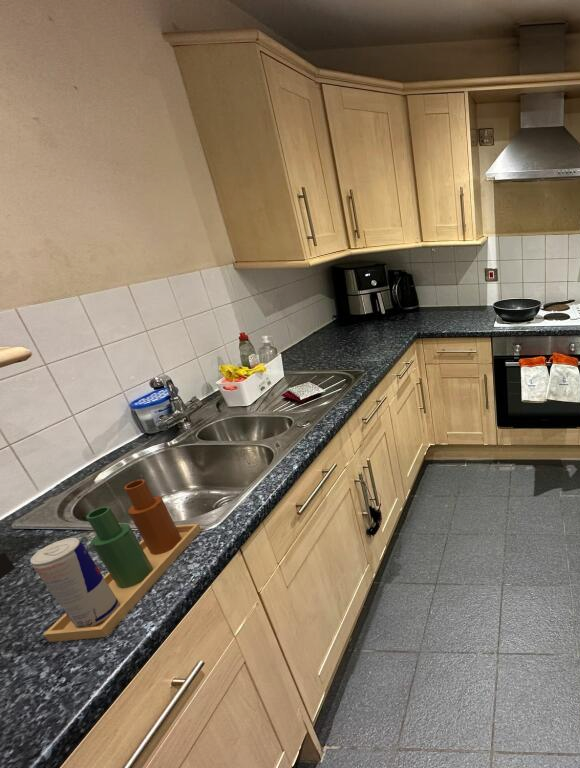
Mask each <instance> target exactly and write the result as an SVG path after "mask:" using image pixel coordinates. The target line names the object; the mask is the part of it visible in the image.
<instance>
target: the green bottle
mask: <svg viewBox="0 0 580 768" xmlns="http://www.w3.org/2000/svg"><path fill="white" fill-rule="evenodd" d="M85 518H86V520H87V521H88V523H89V525H90V527H91V528H92V530H93V531H94V533H95V536H94V537H93V538H92V540H91V541H90V542H91V546H92V547H93V549H94V551H95V552H96V554H97V556H98V557H99V559H100V560H101V562H102V563H103V565H104V568H106V570H107V571H108V572H109V573H110V575H111V576H112V578H113V580H114V581H115V583H116V585H117V586H118V587H119V588H129V587H132V586H135V585H137V584H139V583H141V582H142V581H143V580H144V579H145V578H146V577H147V576H148V575H149V574H150V573H151V572H152V571H153V567H152V565H151V563H150V562H149V560H148V558H147V556H146V554H145V553H144V551H143V549H142V547H141V545H140V541H139V540H138V538H137V536H136V535H135V532H134V530H133V529H132V527H131V526H130V524H128V523H119V521H118V520H117V517H116V516H115V514H114V513H113V511H112V509H111V507H109V506H101V507H99V508H96V509H94V510H92V511H90V512H89V513H88V514H86V516H85ZM108 572H107V573H108Z"/></svg>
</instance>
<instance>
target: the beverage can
mask: <svg viewBox="0 0 580 768" xmlns="http://www.w3.org/2000/svg"><path fill="white" fill-rule="evenodd" d="M29 562H30V564H31V565H32V568H33V569H34V571H35V572H36V574H37V575H38V577H39V578H40V579H41V581H42V582H43V583H44V585H45V587H46V588H47V589H48V591H49V592H50V594H52V596H53V597H54V599H55V601H56V602H57V603H58V605H59V606H60V607H61V609H62V610H63V611H64V614H65V613H66V614H67V616H68V617H69V618H70V620H71V621H72V623H73V624H74V625H75V627H76V628H87V627H92V626H94V625H97V624H99V623H100V622H102V621H104V620H105V619H107V618H108V617H109V616H111V615H112V614H113V613H114V611H115V610H116V609H117V607H118V605H119V601H118V599H117V598H116V596H115V595H114V593H113V591H112V590H111V588H110V587H109V585H108V584H107V582H106V580H105V579H104V575H103V574H102V573H101V571H100V569H99V568H98V566H97V565H96V563H95V561H94V560H93V558H92V557H91V555H90V553H89V551H88V550H87V548H86V547H85V545H84V543H82V542H81V541H80V539H79V538H77V537H69V538H64V539H60V540H57V541H55V542H53V543H50V544H48V545H46V546H44V547H43V548H41V549H39V550H38V551H37V552H36V553H34V554H33V555H32V556H31V558H30V560H29Z"/></svg>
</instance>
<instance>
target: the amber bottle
mask: <svg viewBox="0 0 580 768" xmlns="http://www.w3.org/2000/svg"><path fill="white" fill-rule="evenodd" d="M124 491H125V493H126V495H127V497H128V498H129V500H130V503H131V504H132V505H131V506H130V507H129V508H128V510H127V512H128V514H129V516H130V518H131V520H132V522H133V524H134V526H135V527H136V529H137V531H138V533H139V535H140V537H141V539H142V540H144V542H145V544H146V546H147V547H148V549H149V551H150V553H151V554H153V555H157V554H162V553H165V552H168V551H170V550H172V549H173V548H174V547H175V546H176V545H177V544H178V543H179V542H180V541H181V539H182V538H181V536H180V534H179V532H178V530H177V528H176V524H175V522H174V520H173V518H172V516H171V513H170V512H169V509H168V508H167V506H166V503H165V502H164V500H163V498H162V496H159V495H155V496H153V493H152V492H151V490H150V488H149V485H148V484H147V482H146V480H145V479H135V480H133V481H131V482H128V483H127V484H126V485H124Z"/></svg>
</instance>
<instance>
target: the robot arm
mask: <svg viewBox="0 0 580 768" xmlns="http://www.w3.org/2000/svg"><path fill="white" fill-rule="evenodd" d="M14 569H16V567H15V565H14V564H13V562H12V561H11V560H10V558H9V557H8V556H7V554H6V553H5V551H1V552H0V580H2V579H3V578H4V577H5V576H6V575H8V574H9V573H11V572H12V571H13V570H14Z"/></svg>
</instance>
